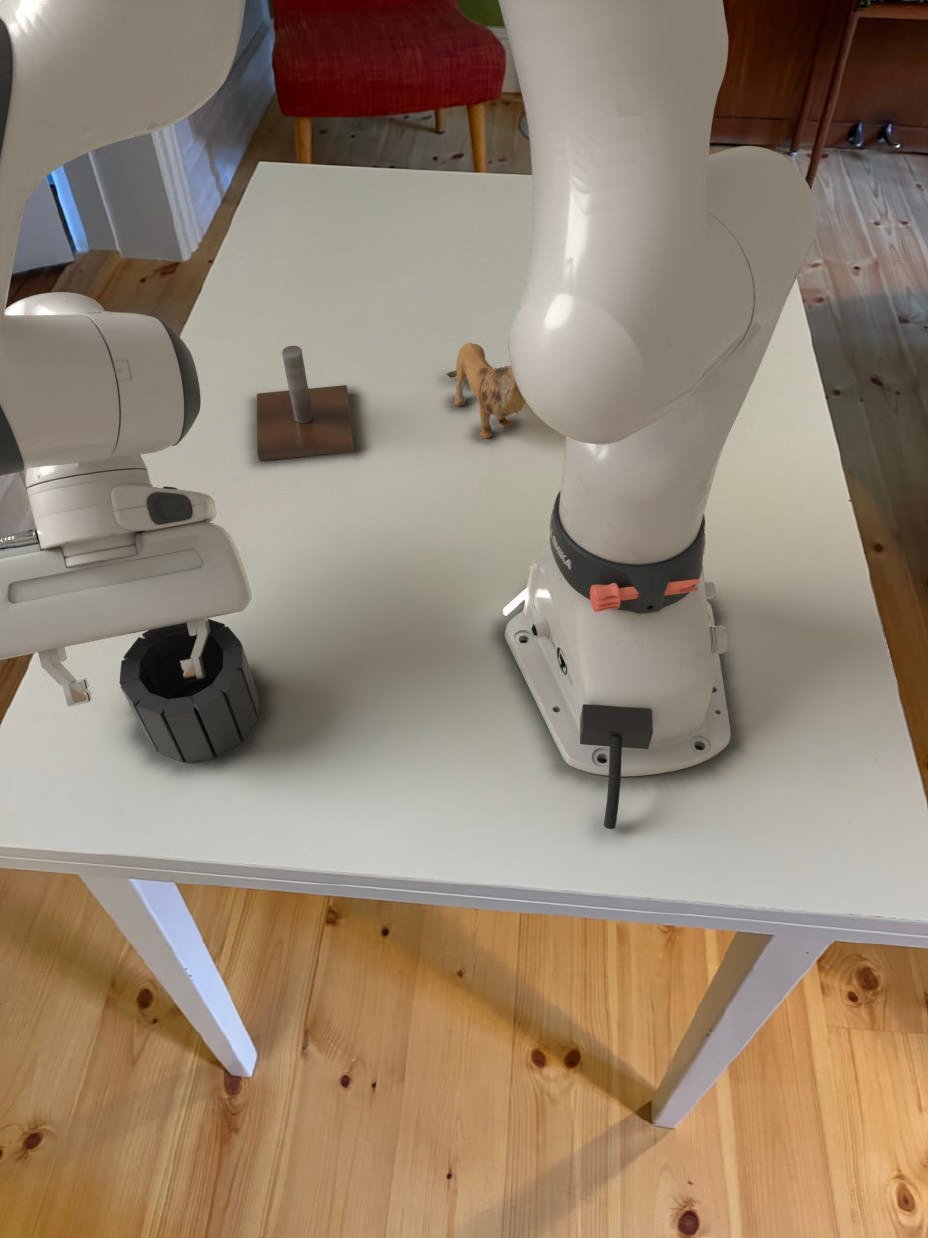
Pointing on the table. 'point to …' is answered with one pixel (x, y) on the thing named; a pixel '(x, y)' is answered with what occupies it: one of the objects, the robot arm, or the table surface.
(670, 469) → the robot arm
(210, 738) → the dark grey grooved ring
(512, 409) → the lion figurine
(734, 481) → the table surface
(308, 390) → the peg stand
